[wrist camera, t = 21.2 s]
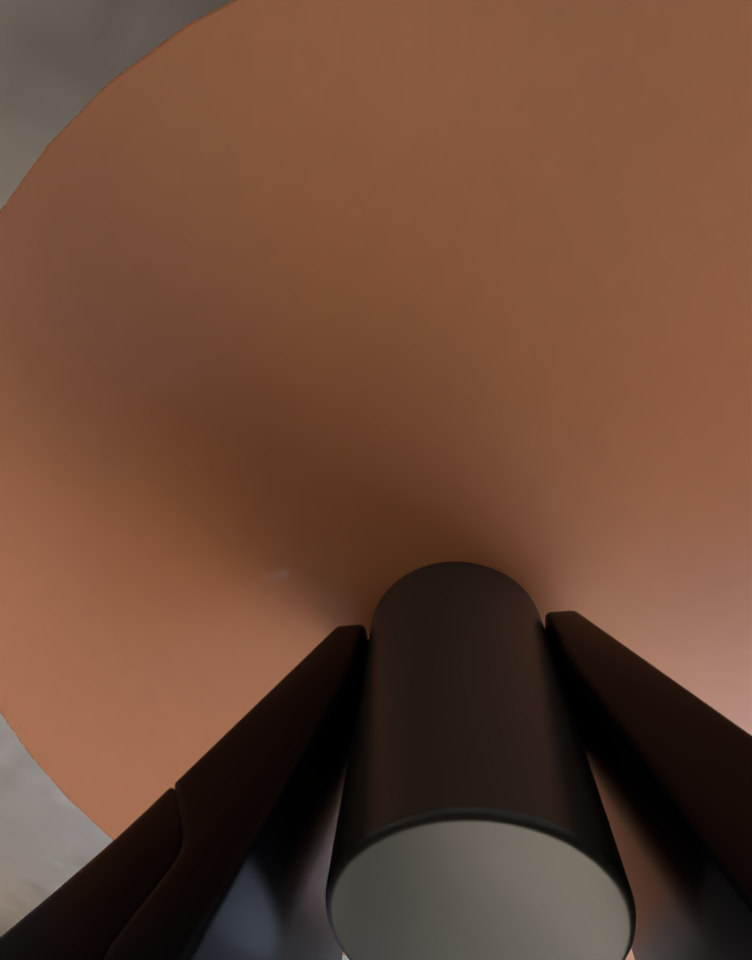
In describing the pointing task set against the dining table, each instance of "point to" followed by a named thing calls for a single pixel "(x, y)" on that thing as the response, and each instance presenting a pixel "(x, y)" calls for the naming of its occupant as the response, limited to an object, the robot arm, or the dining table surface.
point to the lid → (387, 425)
